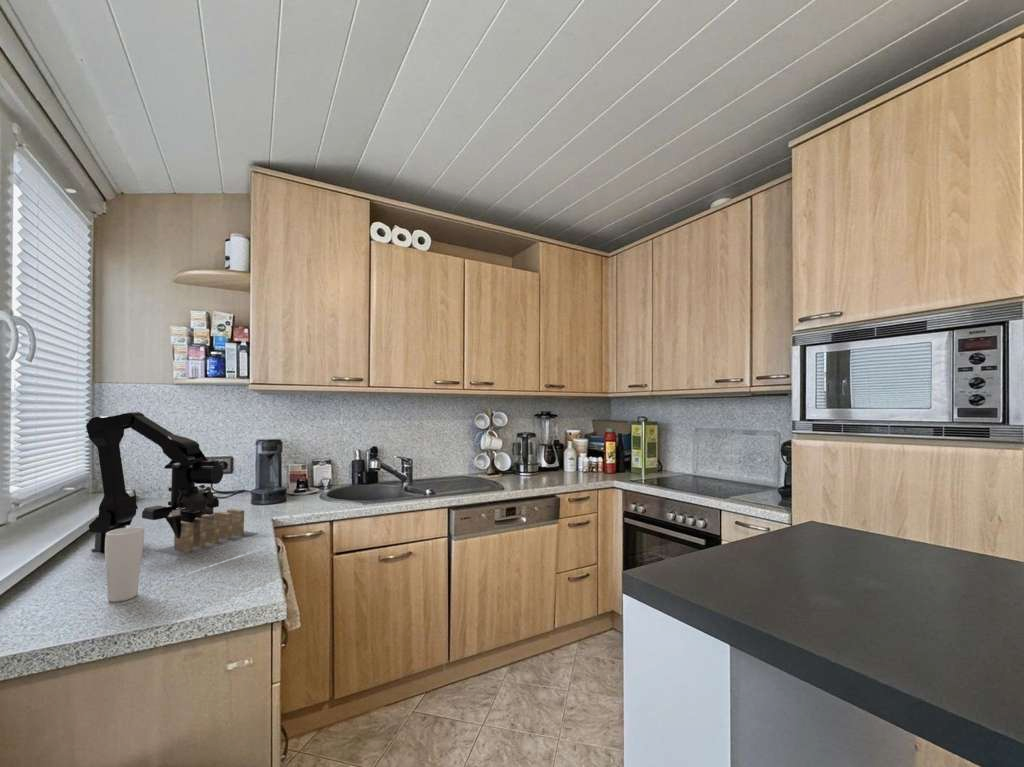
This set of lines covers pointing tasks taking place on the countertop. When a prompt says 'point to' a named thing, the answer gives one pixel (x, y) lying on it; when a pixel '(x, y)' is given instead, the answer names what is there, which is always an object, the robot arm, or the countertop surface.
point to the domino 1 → (184, 538)
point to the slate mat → (171, 550)
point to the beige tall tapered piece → (123, 562)
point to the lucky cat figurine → (208, 510)
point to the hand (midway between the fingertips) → (181, 536)
